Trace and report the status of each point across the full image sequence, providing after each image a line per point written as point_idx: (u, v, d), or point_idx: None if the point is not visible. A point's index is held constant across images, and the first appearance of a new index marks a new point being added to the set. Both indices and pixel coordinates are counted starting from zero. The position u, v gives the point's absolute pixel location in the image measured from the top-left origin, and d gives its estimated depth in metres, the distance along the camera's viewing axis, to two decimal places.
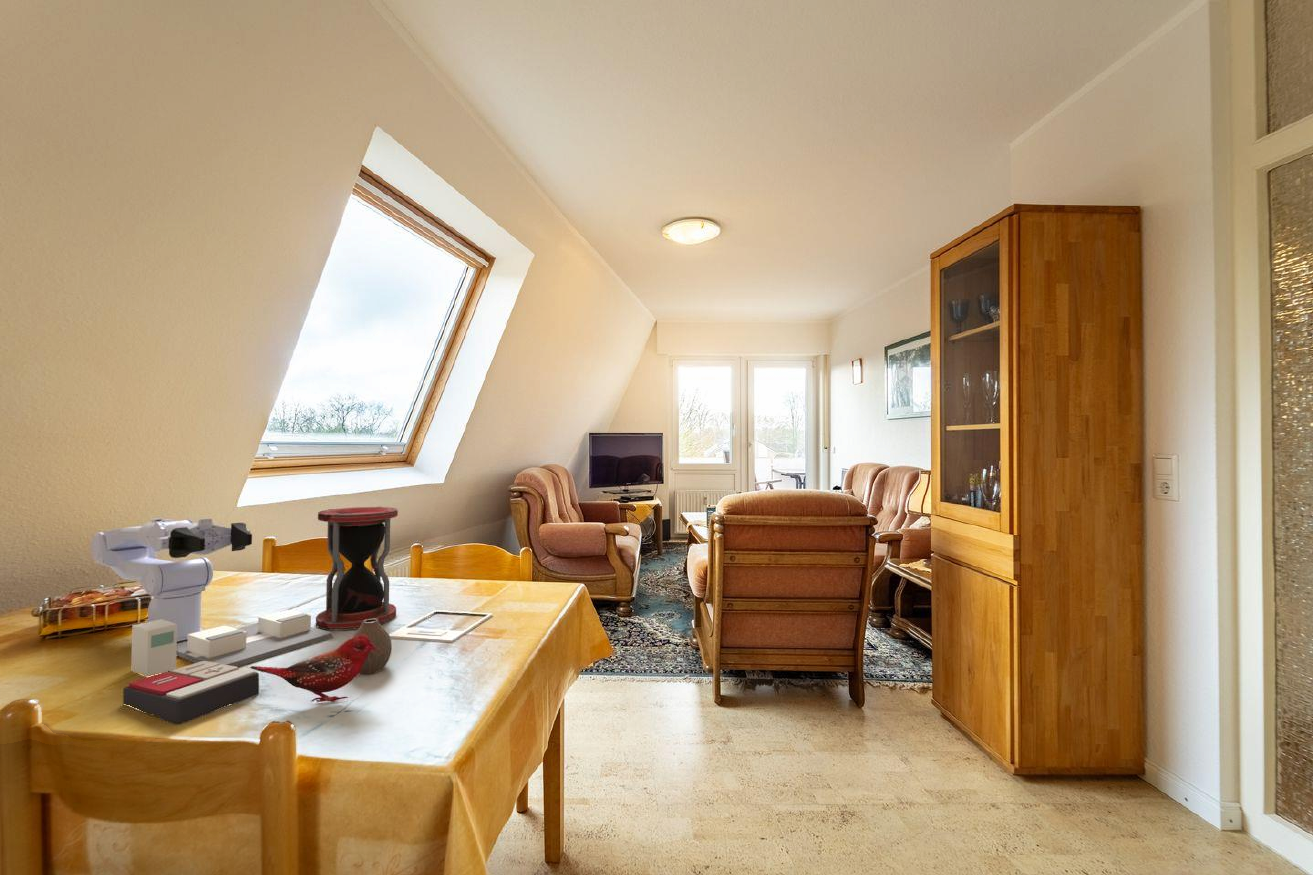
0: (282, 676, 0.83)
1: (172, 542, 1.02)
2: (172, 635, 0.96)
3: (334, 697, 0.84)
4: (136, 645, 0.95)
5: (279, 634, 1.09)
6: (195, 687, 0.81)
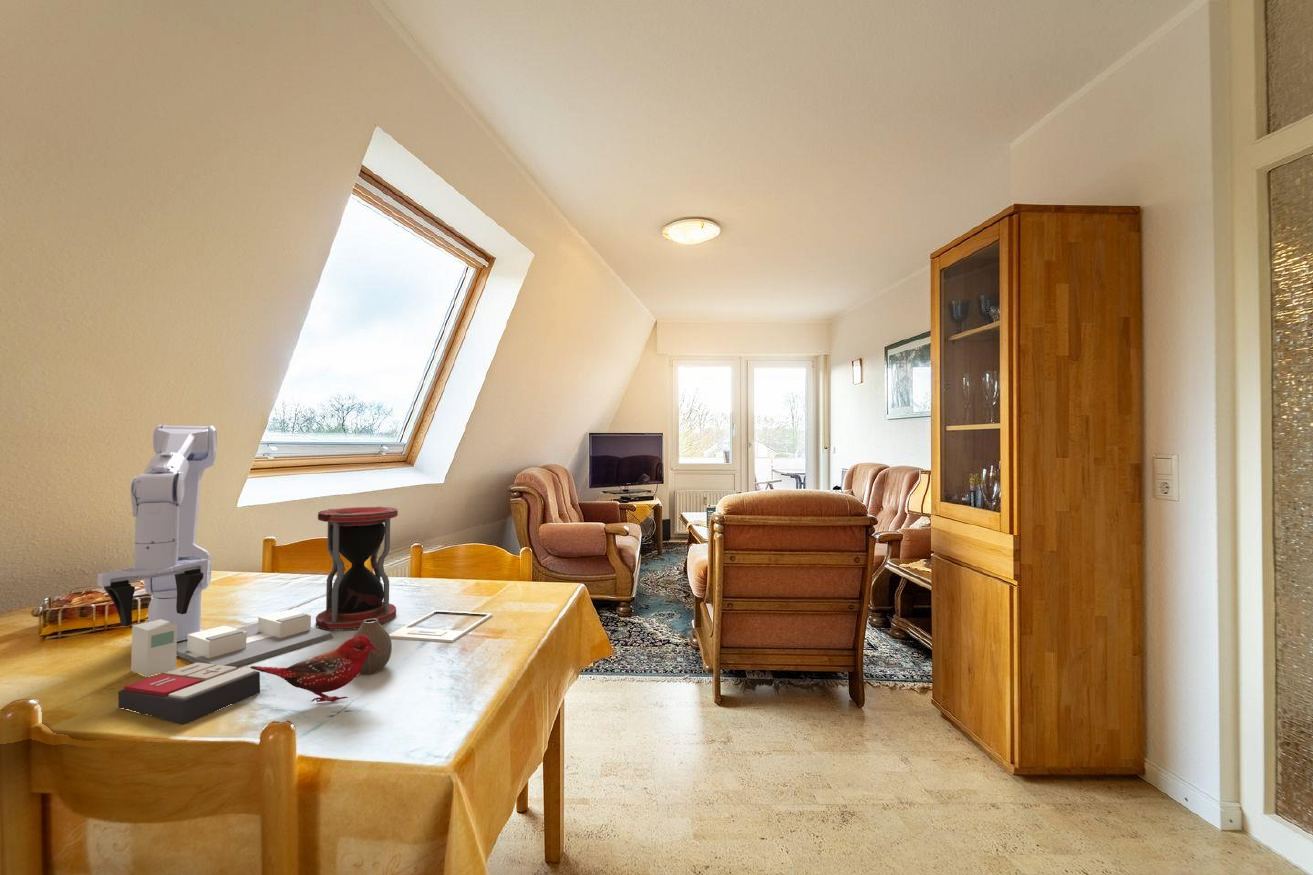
0: (282, 676, 0.83)
1: None
2: (172, 635, 0.96)
3: (334, 697, 0.84)
4: (136, 645, 0.95)
5: (279, 634, 1.09)
6: (198, 687, 0.81)
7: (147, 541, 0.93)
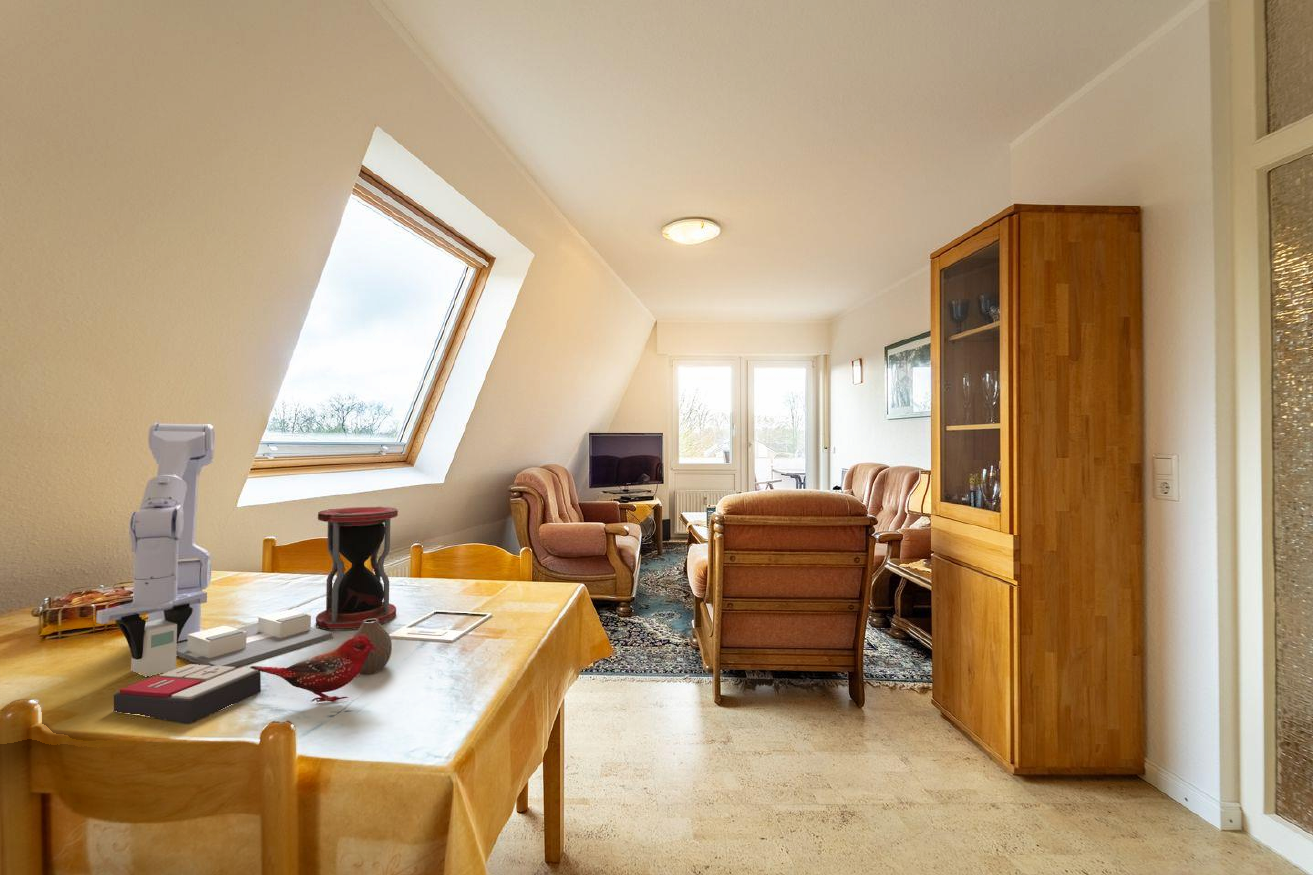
0: (282, 676, 0.83)
1: (122, 623, 0.92)
2: (172, 635, 0.96)
3: (334, 697, 0.84)
4: None
5: (279, 634, 1.09)
6: (201, 687, 0.81)
7: (146, 577, 0.93)
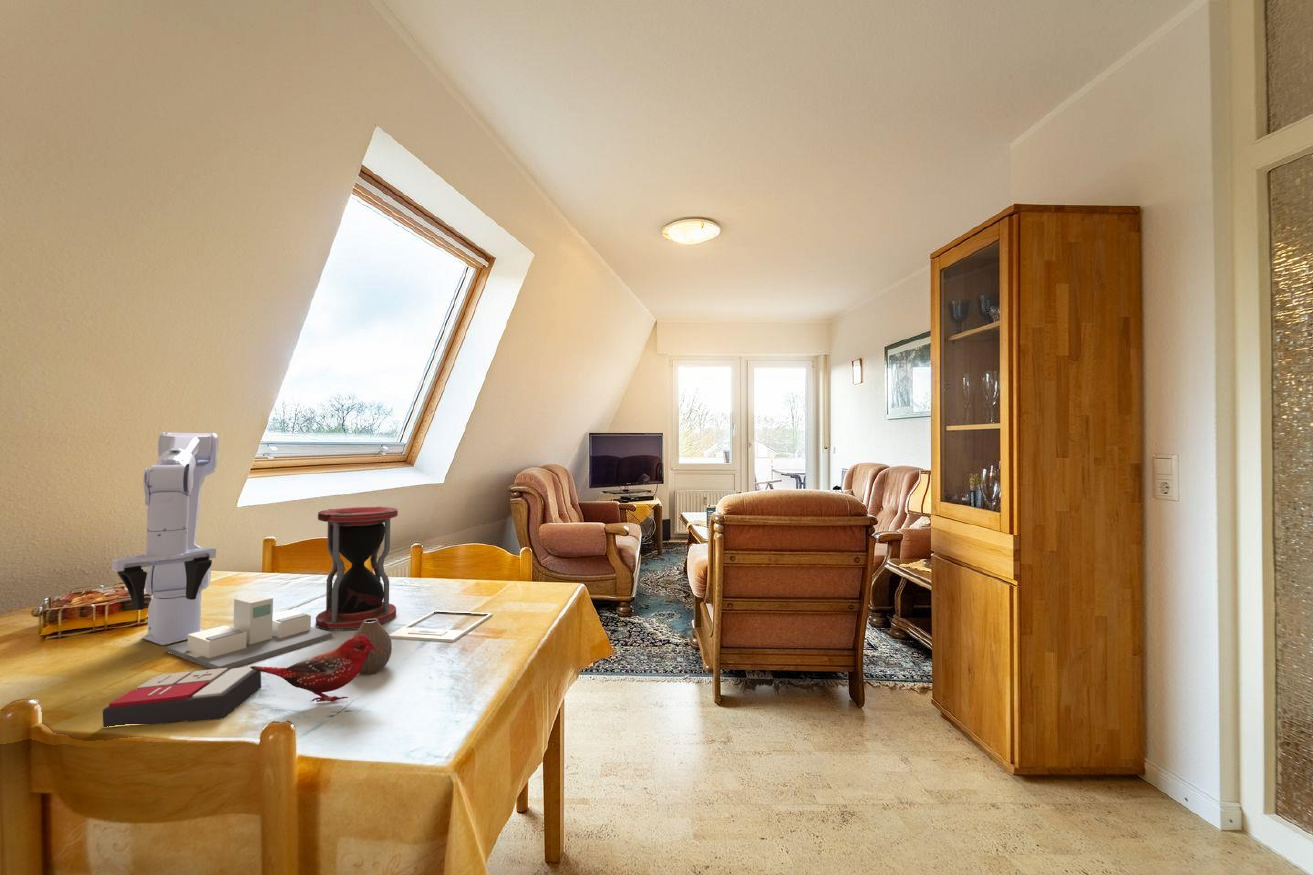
0: (282, 676, 0.83)
1: (124, 574, 0.95)
2: (269, 607, 1.08)
3: (334, 697, 0.84)
4: (239, 616, 1.07)
5: (279, 634, 1.09)
6: (218, 685, 0.82)
7: (159, 529, 0.98)
